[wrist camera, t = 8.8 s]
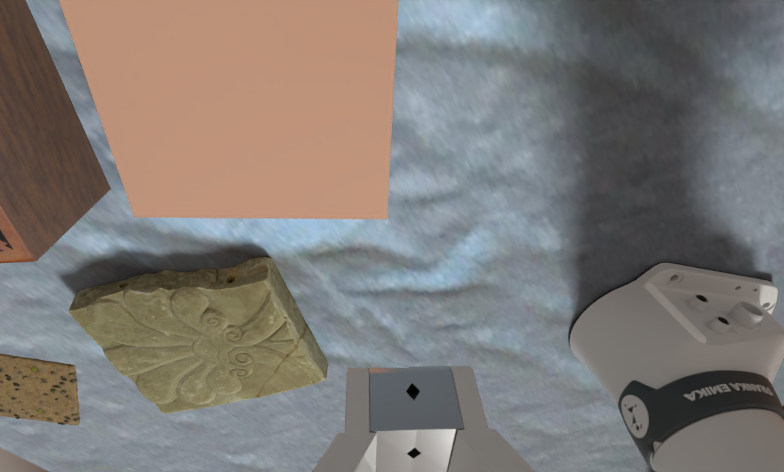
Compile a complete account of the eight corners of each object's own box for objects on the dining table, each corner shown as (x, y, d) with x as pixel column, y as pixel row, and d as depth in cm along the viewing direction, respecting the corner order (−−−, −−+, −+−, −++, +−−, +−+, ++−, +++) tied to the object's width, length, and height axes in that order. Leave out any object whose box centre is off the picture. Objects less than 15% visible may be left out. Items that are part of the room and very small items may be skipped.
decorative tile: (330, 363, 50) (328, 389, 47) (171, 395, 51) (160, 422, 48) (270, 238, 39) (263, 262, 36) (73, 283, 41) (51, 308, 38)
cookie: (78, 361, 47) (73, 368, 46) (82, 422, 53) (78, 429, 52) (-51, 341, 44) (-58, 348, 43) (-30, 408, 50) (-36, 415, 49)
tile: (400, -37, 22) (39, -58, 21) (387, 219, 31) (134, 217, 30) (393, -39, 27) (93, -57, 25) (383, 186, 36) (162, 183, 34)
